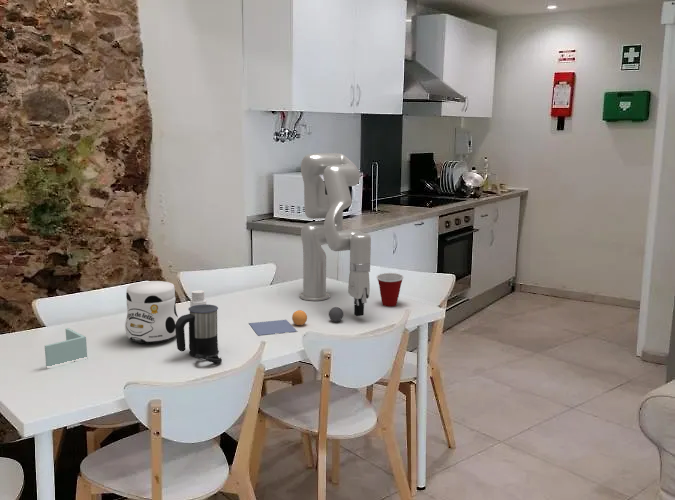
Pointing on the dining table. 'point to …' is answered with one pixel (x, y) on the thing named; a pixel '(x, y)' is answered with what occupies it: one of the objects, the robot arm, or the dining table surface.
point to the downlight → (198, 298)
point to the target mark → (272, 327)
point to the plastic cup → (389, 288)
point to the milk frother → (200, 332)
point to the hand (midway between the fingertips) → (359, 315)
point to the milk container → (151, 312)
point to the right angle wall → (66, 349)
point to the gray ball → (336, 314)
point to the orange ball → (299, 317)
